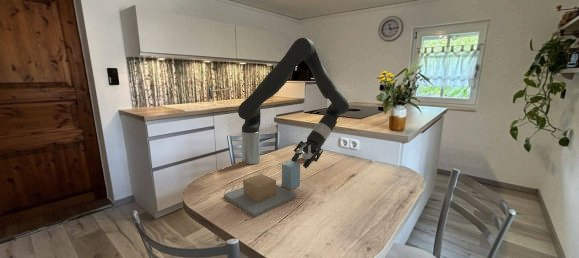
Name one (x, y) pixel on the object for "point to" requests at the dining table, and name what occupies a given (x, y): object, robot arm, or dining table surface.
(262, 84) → the robot arm
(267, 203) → the tower base
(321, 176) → the dining table surface
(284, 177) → the tower block
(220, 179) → the dining table surface
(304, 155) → the cup
